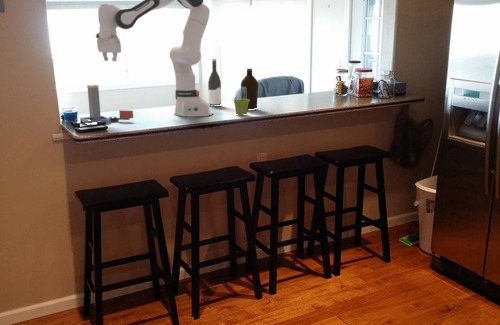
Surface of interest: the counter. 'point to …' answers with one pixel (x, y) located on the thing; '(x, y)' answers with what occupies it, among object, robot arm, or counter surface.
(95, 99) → the pin
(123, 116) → the crank lever
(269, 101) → the counter surface
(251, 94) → the olive oil
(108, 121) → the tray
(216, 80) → the wine bottle
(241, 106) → the plant pot
